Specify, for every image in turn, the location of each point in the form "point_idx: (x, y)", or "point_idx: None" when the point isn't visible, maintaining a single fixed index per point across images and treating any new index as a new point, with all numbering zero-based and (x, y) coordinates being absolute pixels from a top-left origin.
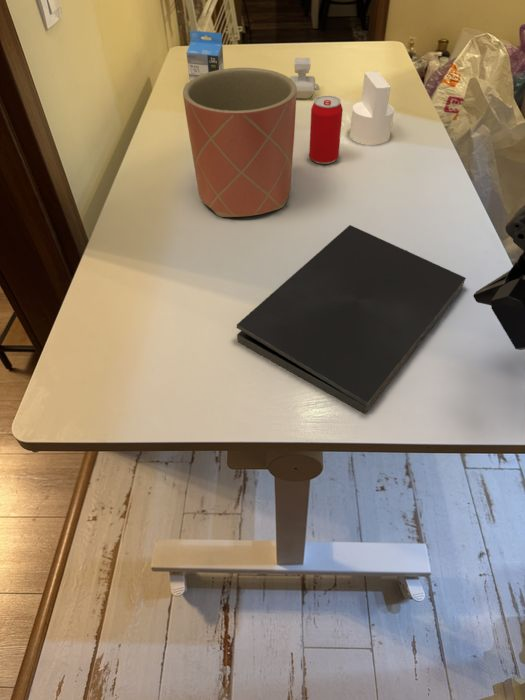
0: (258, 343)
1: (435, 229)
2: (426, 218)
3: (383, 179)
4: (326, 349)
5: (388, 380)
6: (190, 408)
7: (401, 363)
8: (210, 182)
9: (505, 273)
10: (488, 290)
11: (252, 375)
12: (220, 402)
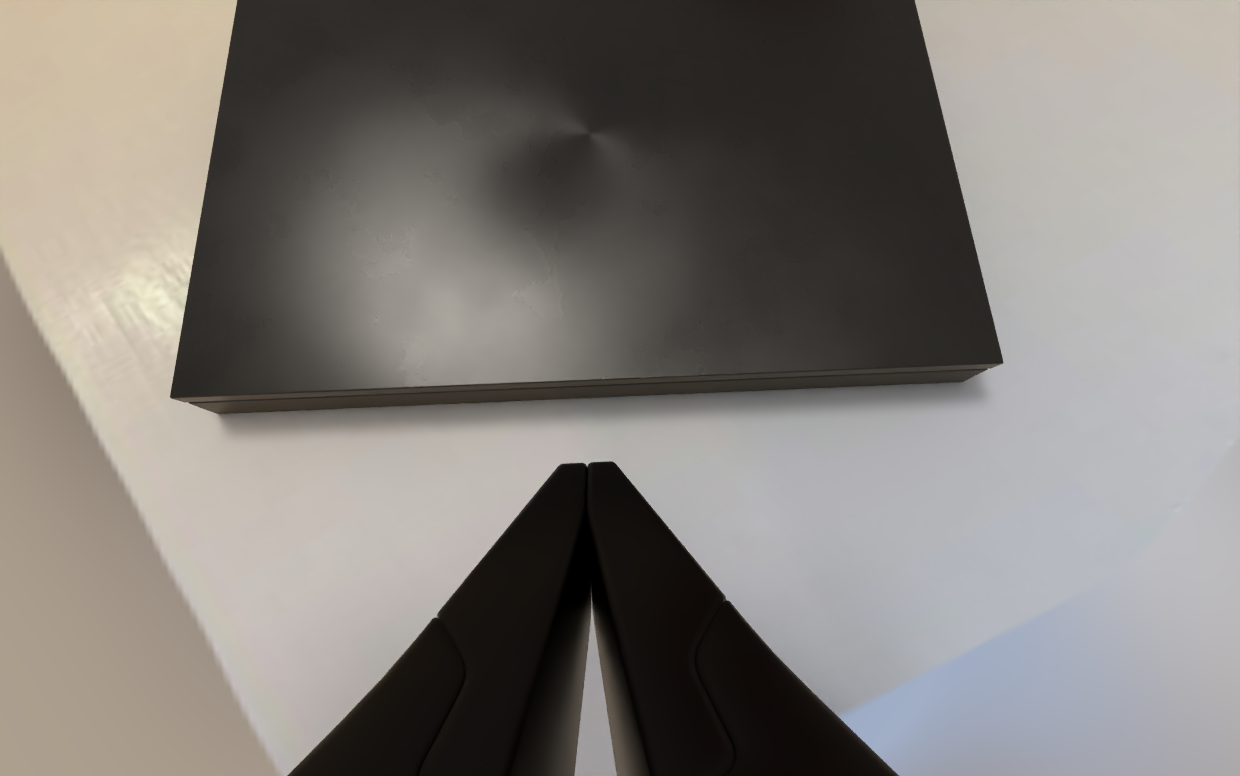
0: None
1: (1161, 168)
2: (1182, 121)
3: None
4: (315, 178)
5: (362, 401)
6: (18, 65)
7: (455, 396)
8: None
9: (754, 655)
10: (471, 580)
11: (199, 108)
12: (70, 103)
